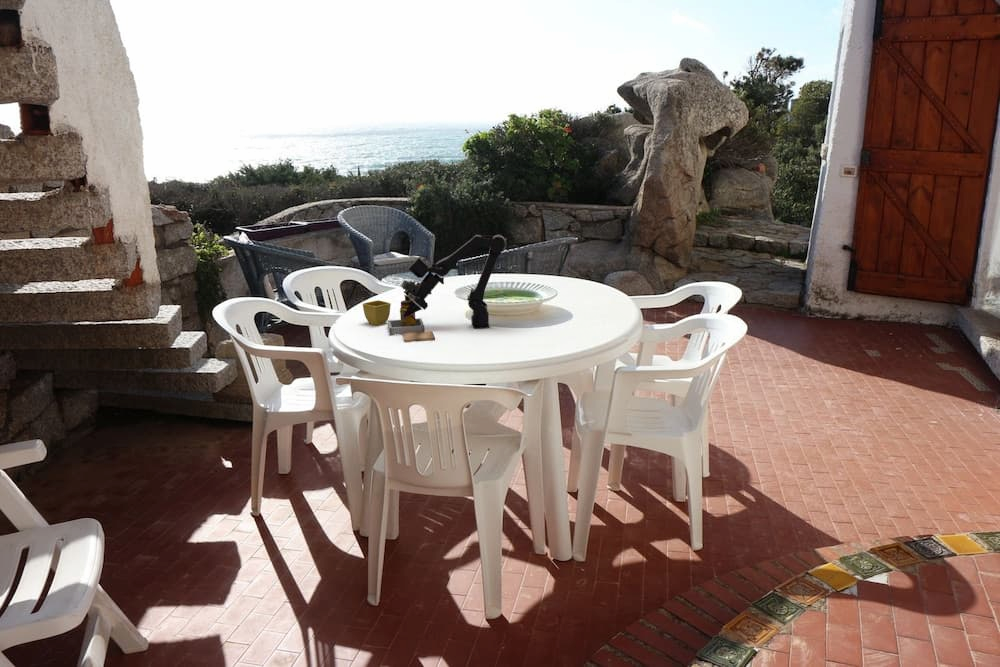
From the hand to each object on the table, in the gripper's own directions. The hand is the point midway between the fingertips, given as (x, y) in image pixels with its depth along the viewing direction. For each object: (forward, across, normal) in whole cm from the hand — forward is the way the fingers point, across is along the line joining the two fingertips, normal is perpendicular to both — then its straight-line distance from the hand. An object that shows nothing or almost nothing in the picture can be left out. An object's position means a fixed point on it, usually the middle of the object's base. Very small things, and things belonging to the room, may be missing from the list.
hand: (402, 314), depth 300 cm
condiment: (+4, 0, +6) cm, 7 cm away
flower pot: (+10, -16, 0) cm, 19 cm away
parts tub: (+4, 0, +6) cm, 7 cm away
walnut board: (+3, +13, +7) cm, 15 cm away
